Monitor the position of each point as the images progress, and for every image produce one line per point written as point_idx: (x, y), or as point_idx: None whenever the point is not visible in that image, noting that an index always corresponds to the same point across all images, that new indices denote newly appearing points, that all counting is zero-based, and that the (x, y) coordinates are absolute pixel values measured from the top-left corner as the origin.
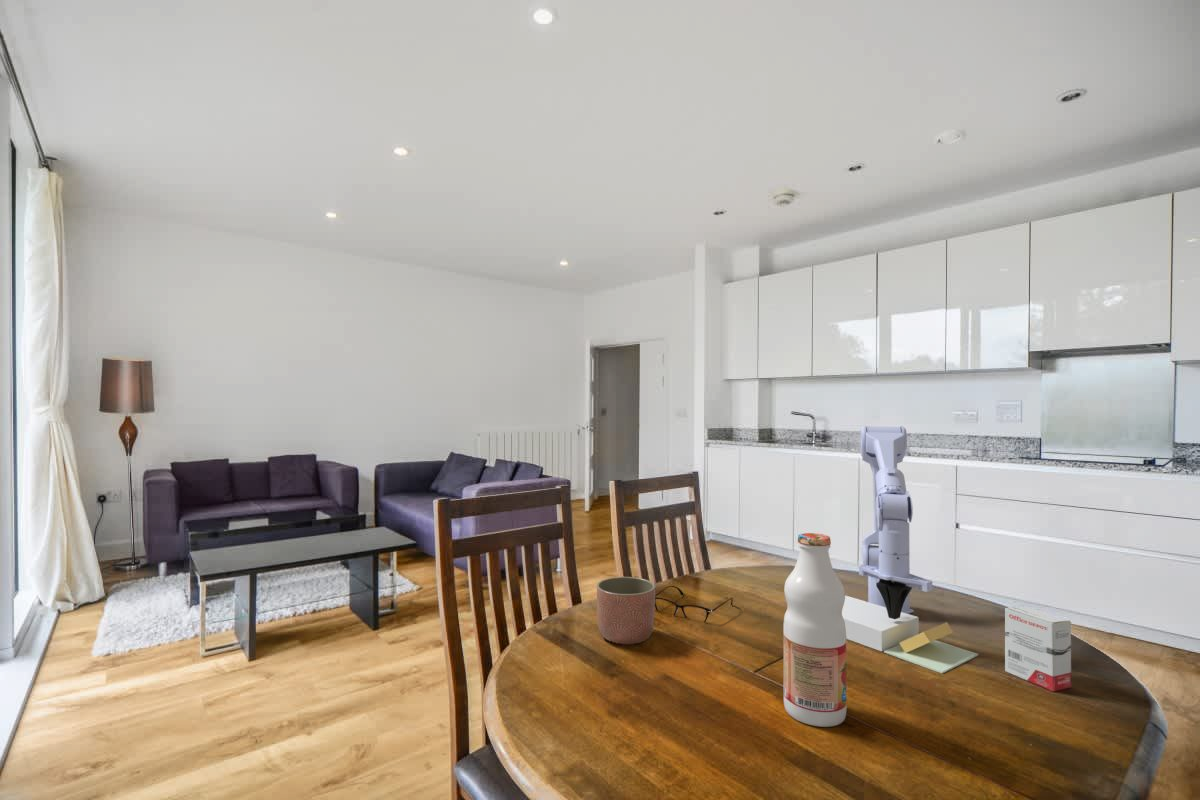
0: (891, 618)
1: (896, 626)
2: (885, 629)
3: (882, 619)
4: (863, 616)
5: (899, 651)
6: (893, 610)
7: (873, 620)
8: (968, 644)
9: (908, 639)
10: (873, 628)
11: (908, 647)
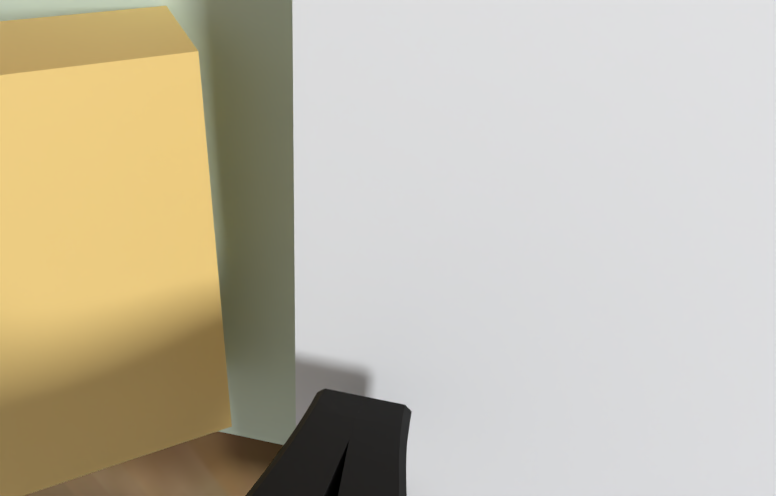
0: (449, 468)
1: (297, 301)
2: (297, 68)
3: (513, 393)
4: (774, 355)
5: (224, 2)
6: (280, 482)
7: (594, 298)
8: (92, 479)
9: (34, 64)
10: None
11: (92, 26)
